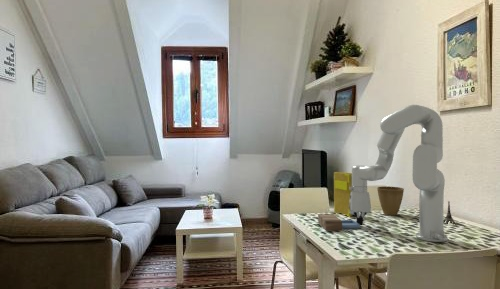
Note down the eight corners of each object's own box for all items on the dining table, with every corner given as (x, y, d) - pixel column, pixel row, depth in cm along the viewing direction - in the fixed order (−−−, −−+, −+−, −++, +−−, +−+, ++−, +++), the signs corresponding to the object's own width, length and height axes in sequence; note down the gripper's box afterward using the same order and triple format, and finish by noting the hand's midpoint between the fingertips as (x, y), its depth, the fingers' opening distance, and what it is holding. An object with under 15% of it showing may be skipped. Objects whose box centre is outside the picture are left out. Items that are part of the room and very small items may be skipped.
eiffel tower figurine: (469, 225, 175) (469, 200, 175) (462, 228, 169) (461, 202, 169) (438, 220, 187) (438, 196, 187) (430, 223, 181) (430, 198, 181)
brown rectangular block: (342, 230, 165) (342, 220, 165) (325, 230, 164) (325, 221, 164) (333, 222, 181) (333, 214, 181) (318, 223, 181) (318, 214, 181)
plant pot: (372, 213, 206) (371, 187, 206) (391, 211, 211) (390, 185, 211) (390, 217, 192) (389, 190, 192) (409, 215, 197) (409, 188, 197)
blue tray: (360, 228, 167) (360, 224, 167) (328, 229, 167) (328, 225, 167) (353, 223, 178) (353, 220, 178) (323, 224, 178) (323, 220, 178)
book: (358, 216, 197) (358, 173, 197) (349, 217, 195) (348, 174, 195) (340, 211, 213) (340, 171, 213) (331, 211, 211) (331, 172, 211)
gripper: (347, 190, 169) (347, 226, 169) (376, 190, 170) (377, 226, 169) (343, 188, 177) (343, 223, 177) (370, 188, 177) (371, 223, 177)
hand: (359, 224), depth 173 cm, fingers closed
